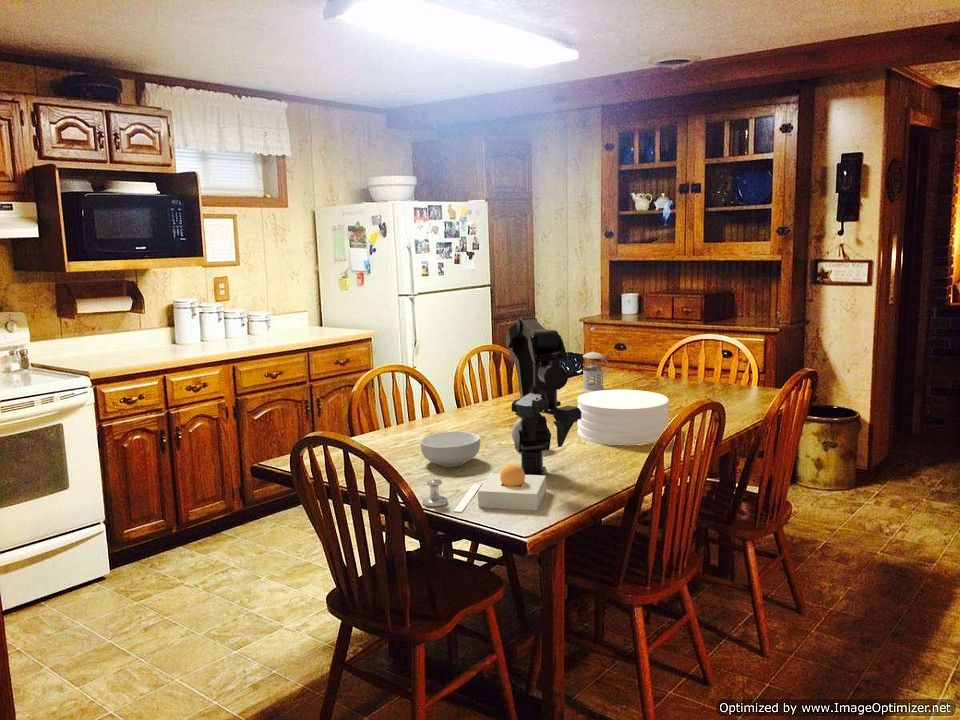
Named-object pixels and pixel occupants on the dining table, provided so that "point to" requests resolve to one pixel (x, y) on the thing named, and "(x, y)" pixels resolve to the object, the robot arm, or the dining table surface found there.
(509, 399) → the dining table surface
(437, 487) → the tee
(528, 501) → the block
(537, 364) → the robot arm
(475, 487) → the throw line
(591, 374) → the french press
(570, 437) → the dining table surface
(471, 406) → the dining table surface
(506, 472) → the ball
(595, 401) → the plate stack
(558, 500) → the dining table surface
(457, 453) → the cereal bowl
